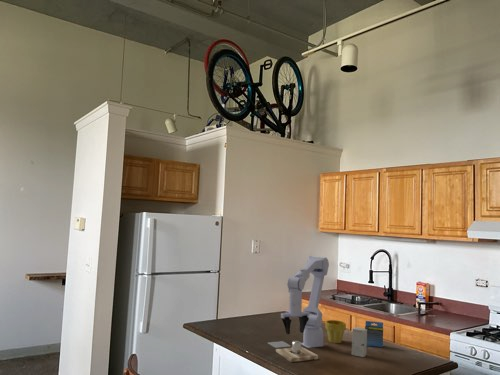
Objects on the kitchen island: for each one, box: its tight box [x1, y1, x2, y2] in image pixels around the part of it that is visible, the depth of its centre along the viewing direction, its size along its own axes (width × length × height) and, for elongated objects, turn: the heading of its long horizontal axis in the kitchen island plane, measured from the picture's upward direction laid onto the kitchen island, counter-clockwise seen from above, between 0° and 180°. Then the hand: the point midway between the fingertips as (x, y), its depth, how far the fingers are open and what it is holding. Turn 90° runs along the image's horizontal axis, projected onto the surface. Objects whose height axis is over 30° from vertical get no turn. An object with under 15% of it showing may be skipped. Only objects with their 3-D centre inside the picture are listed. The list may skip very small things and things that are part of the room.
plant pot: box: [325, 319, 347, 344], centre depth 217 cm, size 10×10×10 cm
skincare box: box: [351, 326, 367, 358], centre depth 195 cm, size 6×4×12 cm
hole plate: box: [275, 346, 319, 363], centre depth 190 cm, size 14×14×2 cm
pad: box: [267, 340, 291, 349], centre depth 206 cm, size 9×9×1 cm
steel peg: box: [291, 340, 302, 355], centre depth 190 cm, size 4×4×6 cm
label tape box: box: [364, 320, 384, 348], centre depth 212 cm, size 9×4×12 cm, turn 74°
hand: (294, 333), depth 194 cm, fingers open, 7 cm apart
